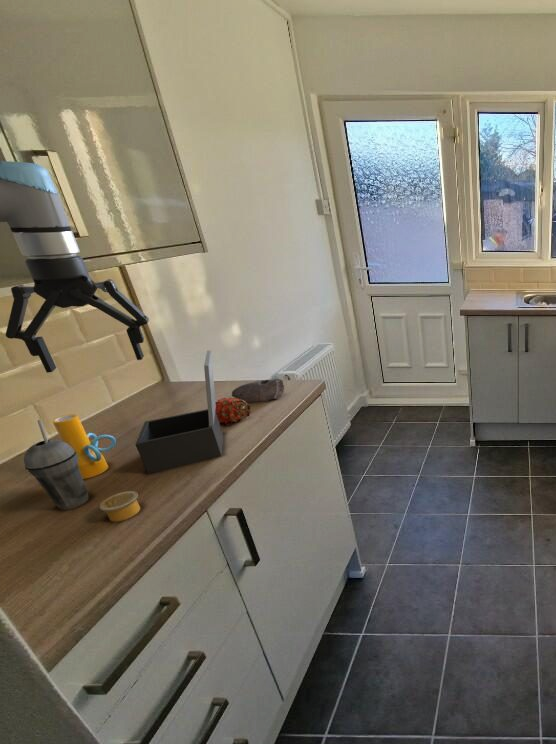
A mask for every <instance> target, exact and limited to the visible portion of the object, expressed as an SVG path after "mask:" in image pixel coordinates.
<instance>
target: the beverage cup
mask: <svg viewBox="0 0 556 744" xmlns="http://www.w3.org/2000/svg"><path fill="white" fill-rule="evenodd" d="M36 421H37V424H38V426H39V430H40V433H41V436H42V439H43V440H40V441H38V442H36V443H34V444H32V445H31V446H30V447H29V448H28V449H27V450H26V452H25V453H24V455H23V464H24V468H25V470H26V471H28V472H29V473H30V475H32V476H33V477H34V478H35V479H36V480H37V482H38V483H39V485H40V486H41V487H42V489H43V490H44V491H45V493H46V494H47V495H48V497H49V498H50V499H51V500H52V502H53V504H54V505H55V507H57V508H58V509H59V510H62V511H63V510H65V511H66V510H71V509H75V508H77V507H79V506H81V505H84V504H85V503H86V502H87V501H88V500H89V499H90V498H89V492H88V489H87V486H86V484H85V481H84V479H83V478H82V475H81V472H80V469H79V467H78V464H77V462H78V461H77V456H76V452H75V450H73V449H72V447H71V446H70V445H68V444H67V443H65V442H62V440H58V439H48V436H47V433H46V430H45V428H44V424H43V422H42V419H37V420H36Z"/></svg>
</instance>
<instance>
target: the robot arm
mask: <svg viewBox="0 0 556 744" xmlns="http://www.w3.org/2000/svg"><path fill="white" fill-rule="evenodd" d="M0 223H7V224H8V226H9V229H10V231H11V232H12V235H13V238H14V240H15V243H16V245H17V247H18V249H19V252H20V254H21V255H22V256H23V257H27V258H26V259H25V260H24V262H25V263H24V264H25V266H26V268H27V269H28V271H29V274H30V276H31V279H32V281H33V285H28V286H27V285H24V284H17V285H15V286H12V287H11V288H10V291H11V295H12V297H13V302H12V305H11V311H10V315H9V318H8V323H7V327H6V331H5V337H6V338H7V339H11V340H12V339H17V340H20V341H21V340H22V341H23V342H24V344H25V346H26V348H27V350H28V352H29V354H30V355H31V356H32V357H39V360H40V361H41V364H42V366H43V368H44V370H45V372H46V374H48V373H53V372H54V371H55V370H56V369H57V365H56V363H55V362H54V359H53V357H52V355H51V353H50V351H49V349H48V346H47V344H46V342H45V340H44V338H43V336H37V334H38V332H39V331H40V329H41V328H42V327H43V325H44V323H45V322H46V321H47V319H49V316H50V315H51V313H52V312H53V311H54V309H56V307H58V308H60V309H66V308H71V307H77V308H78V307H85V306H87V305H89V306H91V307H92V308H95V309H97V310H99V311H101V312H103V313H104V314H106V315H108V316H109V317H111V318H113V319H115V320H116V321H118V322H120V323H122V324H123V325H125V326H126V327H127V329H126V333H127V337H128V339H129V342H130V345H131V347H132V350H133V352H134V355H135V358H136V360H137V361H141V360H143V358H144V357H145V354H144V352H143V349H142V347H141V344H143V343H144V342H145V337H144V334H143V332H142V329H141V326H145V325H147V324H148V322H150V318H149V317H148V316H147V315H146V314H145V313H143V312H142V310H141V309H140V308H138V307H137V306H136V305H135V304H134V303H133V302H132V301H131V300H130V299H129V298H128V297H127V296H126V295H124V294H123V292H121V290H119V288H118V286H117V285H116V284H117V283H116V282H115V281H114V280H113V279H111V278H108V279H106V280H103V281H97V282H95V281H94V280H93V279H92V278H91V276H90V272H89V271H88V268H87V265H86V263H85V260H84V257H81V256H80V255H78V254H80V252H81V251H80V250H81V249H80V248H79V245H78V242H77V240H76V238H75V235H74V232H73V231H72V227H71V224H70V222H69V220H68V217H67V214H66V211H65V209H64V206H63V203H62V201H61V198H60V195H59V192H58V191H57V189H56V186H55V184H54V181H53V180H52V177H51V175H50V173H49V171H48V170H47V168H45V167H44V166H42V165H40V164H37V163H34V162H23V161H10V160H9V161H7V160H0ZM98 289H99V290H101V291H102V292H104V293H107V294H108V295H109V296H110V297H111V298H112V299H113V300H114V301H116V302H117V304H119V305H120V307H122V308H123V309H124V310H125V311H126V312H127V313H128V314H130V315H131V316H132V317H131V316H130V315H127V313H124V312H122V311H121V310H119V309H118V308H116V307H114V306H113V305H111V304H110V303H108V302H106V301H105V300H104V299H102V298H101V297H99V296H97V295H96V292H97V290H98ZM34 293H35V294H36V295H37V296H39V297H41V298H42V299H44V302H43V303H42V305H41V306H40V308H39V310H38V311H37V312H36V313H35V315H34V317H33V318H32V319H31V321H30V323H29V324H28V326H27V327H26V329H25V330H22V328H23V324H24V321H25V320H24V319H25V316H26V312H27V307H28V304H29V298H31V297H33V294H34Z"/></svg>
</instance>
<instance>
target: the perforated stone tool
mask: <svg viewBox="0 0 556 744" xmlns="http://www.w3.org/2000/svg"><path fill="white" fill-rule="evenodd" d="M284 392H285V385H284V381H283V379H281V378H271V379H262V380H257V381H253V382H252V381H251V382H249V383H245V384H242V385H239V386H238V387H236V388H234V389H233V390H232V391H231V397H235V398H238V399H242V400H244V401H246V402H247V404H251V403H261V402H270V401H271V400H278V399H280V398H281V397H282V396H283V394H284Z"/></svg>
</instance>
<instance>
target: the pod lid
mask: <svg viewBox="0 0 556 744" xmlns="http://www.w3.org/2000/svg"><path fill="white" fill-rule="evenodd" d="M204 360H205V361H204V364H203V366H204V367H203V370H204V380H205V381H204V382H205V393H206V402H207V403H206V404H207V409H208V416H209V426H214V418H215V408H216V403H215V402H216V395H215V394H216V392H215V391H216V390H215V381H214V367H213V356H212V350H207V351H206V355H205V359H204Z"/></svg>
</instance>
